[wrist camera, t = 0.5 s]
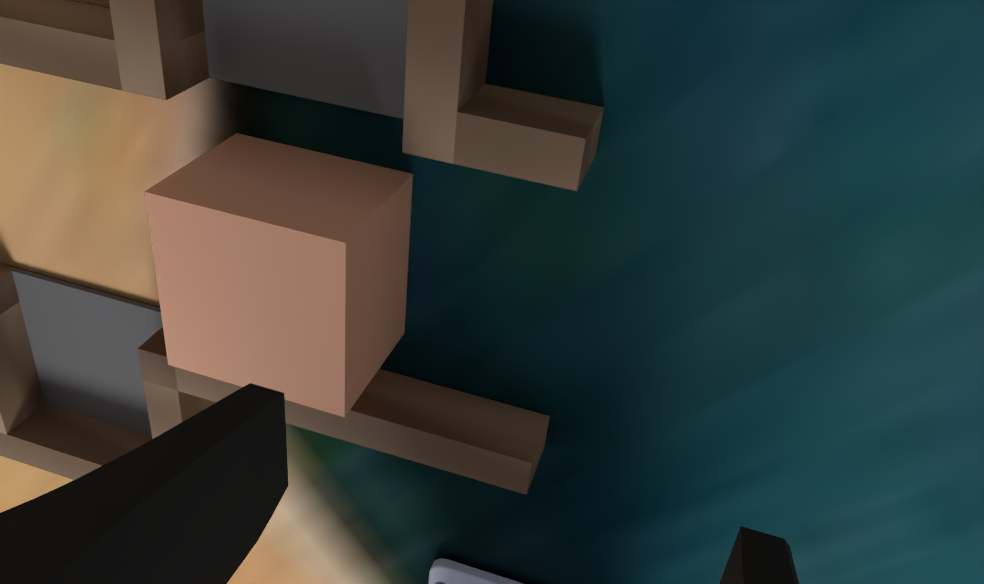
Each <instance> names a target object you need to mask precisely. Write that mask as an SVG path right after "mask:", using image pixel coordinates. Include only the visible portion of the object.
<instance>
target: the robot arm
mask: <svg viewBox="0 0 984 584" xmlns="http://www.w3.org/2000/svg"><path fill="white" fill-rule="evenodd" d="M287 487H288V470H287V446H286V422H285V398H284V393H283V392H279V391H276V390H272V389H269V388H265V387H262V386H259V385H255V384H252V383H249V384H248V385H246V386H244V387H242V388H240V389H239V390H237V391H235V392H233V393H232V394H230V395H228V396H226V397H225V398H223V399H221V400H219V401H218V402H216V403H214V404H213V405H211V406H209V407H207V408H206V409H204V410H202V411H201V412H199V413H197V414H195V415H194V416H192V417H190V418H189V419H187V420H185V421H183V422H182V423H180V424H178V425H176V426H175V427H173V428H171V429H170V430H168V431H166V432H164V433H162V434H161V435H159V436H157V437H155V438H153V439H152V440H150V441H148V442H146V443H145V444H143V445H141V446H139V447H137V448H136V449H134V450H132V451H130V452H128V453H126V454H124V455H123V456H121V457H119V458H117V459H115V460H113V461H111V462H109V463H107V464H105V465H103V466H101V467H99V468H97V469H95V470H93V471H91V472H89V473H87V474H85V475H83V476H81V477H79V478H77V479H75V480H73V481H72V482H70V483H68V484H65V485H63V486H61V487H59V488H57V489H55V490H53V491H50V492H48V493H46V494H44V495H42V496H39V497H37V498H35V499H33V500H30V501H28V502H26V503H23V504H21V505H18V506H16V507H14V508H11V509H9V510H6V511H4V512H2V513H0V584H227V582H228V581H229V580H230V578H231V577H232V575H233V574H234V573H235V571H236V570H237V569H238V567H239V566H240V564H241V563H242V562H243V560H244V559H245V558H246V556H247V555H248V553H249V552H250V551H251V549H252V548H253V546H254V545H255V544H256V542H257V541H258V539H259V537H260V536H261V534H262V532H263V530H264V529H265V527H266V525H267V523H268V522H269V520H270V518H271V516H272V515H273V513H274V511H275V509H276V507H277V505H278V503H279V502H280V500H281V498H282V496H283V494H284V492H285V490H286V489H287ZM428 584H523V583H520V582H517V581H514V580H511V579H508V578H505V577H501V576H498V575H495V574H492V573H489V572H486V571H483V570H480V569H476V568H473V567H470V566H467V565H464V564H461V563H458V562H455V561H452V560H448V559H437V560H435V561H434V563H433V565H432V567H431V569H430V572H429V583H428ZM720 584H799V581H798V578H797V574H796V570H795V566H794V562H793V558H792V554H791V550H790V546H789V545H788V543H787V542H786V540H785V539H783V538H779V537H776V536H773V535H769V534H766V533H762V532H759V531H755V530H752V529H749V528H745V527H742V526H741V527H740V530H739V533H738V535H737V538H736V541H735V543H734V546H733V549H732V551H731V554H730V557H729V559H728V562H727V565H726V568H725V570H724V573H723V576H722V578H721V581H720Z"/></svg>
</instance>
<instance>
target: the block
mask: <svg viewBox="0 0 984 584" xmlns="http://www.w3.org/2000/svg"><path fill="white" fill-rule="evenodd" d="M412 182H413V174H411V173H407V172H403V171H398V170H394V169H390V168H385V167H381V166H377V165H372V164H368V163H364V162H359V161H355V160H351V159H346V158H342V157H338V156H333V155H329V154H325V153H320V152H316V151H312V150H307V149H303V148H299V147H294V146H290V145H286V144H281V143H277V142H273V141H268V140H264V139H260V138H255V137H251V136H247V135H242V134H238V133H236V134H234V135H233V136H231V137H230V138H228V139H226V140H225V141H223V142H222V143H220V144H219V145H217V146H216V147H214V148H212V149H211V150H209V151H208V152H206V153H205V154H203V155H201V156H200V157H198V158H197V159H195V160H194V161H192V162H190V163H189V164H187V165H186V166H184V167H183V168H181V169H179V170H178V171H176V172H175V173H173V174H172V175H170V176H168V177H167V178H165V179H164V180H162V181H161V182H159V183H158V184H156V185H154V186H153V187H151V188H150V189H148V190H147V191H145V192H144V193H145V200H146V207H147V215H148V222H149V229H150V236H151V244H152V251H153V258H154V266H155V273H156V280H157V287H158V295H159V302H160V309H161V317H162V324H163V331H164V338H165V346H166V353H167V360H168V365H171V366H174V367H177V368H181V369H184V370H187V371H191V372H194V373H197V374H201V375H204V376H208V377H211V378H214V379H218V380H221V381H224V382H228V383H231V384H234V385H238V386H241V387H244V386H246V385H248V384H249V383H252V384H255V385H259V386H262V387H265V388H269V389H272V390H276V391H279V392H283V393H284V398H285V400H288V401H291V402H295V403H298V404H301V405H305V406H308V407H311V408H315V409H318V410H321V411H325V412H328V413H331V414H335V415H338V416H341V417H345V416H346V415H347V413H348V412H349V410H350V409H351V408H352V406H353V405H354V403H355V402H356V401H357V399H358V398H359V396H360V395H361V394H362V392H363V391H364V389H365V388H366V387H367V385H368V384H369V382H370V381H371V380H372V378H373V377H374V375H375V374H376V372H377V371H378V370H379V368H380V367H381V365H382V364H383V363H384V361H385V360H386V358H387V357H388V356H389V354H390V353H391V351H392V350H393V349H394V347H395V346H396V344H397V343H398V342H399V340H400V339H401V337H402V336H403V335H404V332H405V313H406V294H407V276H408V257H409V238H410V219H411V201H412Z"/></svg>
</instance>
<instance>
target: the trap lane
mask: <svg viewBox="0 0 984 584" xmlns="http://www.w3.org/2000/svg"><path fill="white" fill-rule="evenodd" d="M109 5H110V8H106V7H101V6H96V5H91V4H86V3H81V2H76V1H71V0H0V63H1V64H5V65H10V66H14V67H19V68H23V69H28V70H32V71H37V72H41V73H46V74H50V75H55V76H59V77H64V78H68V79H73V80H77V81H82V82H86V83H91V84H95V85H100V86H104V87H109V88H113V89H118V90H123V91H127V92H132V93H136V94H141V95H145V96H150V97H154V98H159V99H163V100H167V99H169V98H171V97H173V96H175V95H177V94H179V93H181V92H183V91H185V90H186V89H188V88H190V87H192V86H194V85H196V84H198V83H200V82H202V81H204V80H206V79H208V78H213V79H218V80H223V81H227V82H232V83H237V84H241V85H246V86H251V87H255V88H260V89H265V90H270V91H274V92H279V93H284V94H288V95H293V96H298V97H302V98H307V99H312V100H316V101H321V102H326V103H330V104H335V105H340V106H345V107H349V108H354V109H359V110H363V111H368V112H373V113H377V114H382V115H387V116H391V117H396V118H401V119H404V121H403V146H402V153H407V154H411V155H416V156H420V157H425V158H429V159H434V160H438V161H443V162H447V163H452V164H456V165H461V166H465V167H470V168H474V169H479V170H483V171H488V172H492V173H497V174H501V175H506V176H510V177H515V178H519V179H524V180H528V181H533V182H537V183H542V184H546V185H551V186H555V187H560V188H564V189H569V190H573V191H577V190H578V188H579V186H580V185H581V183H582V181H583V179H584V177H585V175H586V173H587V171H588V170H589V168H590V166H591V164H592V162H593V160H594V158H595V156H596V151H597V145H598V139H599V133H600V128H601V122H602V116H603V111H604V107H600V106H595V105H590V104H585V103H580V102H575V101H570V100H565V99H560V98H555V97H550V96H545V95H540V94H535V93H530V92H525V91H520V90H515V89H510V88H506V87H501V86H496V85H491V84H486V74H487V63H488V52H489V42H490V31H491V20H492V10H493V0H109ZM240 388H242V387H241V386H238V385H234V384H231V383H228V382H224V381H221V380H218V379H214V378H211V377H208V376H204V375H201V374H197V373H194V372H191V371H187V370H184V369H181V368H177V367H174V366H171V365H168V360H167V353H166V346H165V338H164V331H163V324H162V317H161V309H160V308H159V307H155V306H152V305H148V304H144V303H141V302H137V301H134V300H130V299H126V298H123V297H119V296H116V295H112V294H108V293H105V292H101V291H98V290H94V289H90V288H87V287H83V286H80V285H76V284H72V283H69V282H65V281H62V280H58V279H54V278H51V277H47V276H44V275H40V274H36V273H33V272H29V271H26V270H22V269H18V268H15V267H11V266H8V265H4V264H0V455H1V456H4V457H7V458H10V459H13V460H16V461H19V462H22V463H25V464H28V465H31V466H34V467H37V468H40V469H43V470H46V471H49V472H52V473H55V474H58V475H61V476H64V477H67V478H70V479H73V480H75V479H77V478H79V477H81V476H83V475H85V474H87V473H89V472H91V471H93V470H95V469H97V468H99V467H101V466H103V465H105V464H107V463H109V462H111V461H113V460H115V459H117V458H119V457H121V456H123V455H124V454H126V453H128V452H130V451H132V450H134V449H136V448H137V447H139V446H141V445H143V444H145V443H146V442H148V441H150V440H152V439H153V438H155V437H157V436H159V435H161V434H162V433H164V432H166V431H168V430H170V429H171V428H173V427H175V426H176V425H178V424H180V423H182V422H183V421H185V420H187V419H189V418H190V417H192V416H194V415H195V414H197V413H199V412H201V411H202V410H204V409H206V408H207V407H209V406H211V405H213V404H214V403H216V402H218V401H219V400H221V399H223V398H225V397H226V396H228V395H230V394H232V393H233V392H235V391H237V390H239V389H240ZM549 419H550V416H548V415H544V414H541V413H537V412H533V411H530V410H526V409H523V408H519V407H515V406H512V405H508V404H505V403H501V402H497V401H494V400H490V399H487V398H483V397H479V396H476V395H472V394H469V393H465V392H461V391H458V390H454V389H451V388H447V387H443V386H440V385H436V384H433V383H429V382H425V381H422V380H418V379H415V378H411V377H407V376H404V375H400V374H397V373H393V372H389V371H386V370H382V369H379V370H378V371H377V372H376V374H375V375H374V377H373V378H372V380H371V381H370V382H369V384H368V385H367V387H366V388H365V389H364V391H363V392H362V394H361V395H360V396H359V398H358V399H357V401H356V402H355V403H354V405H353V406H352V408H351V409H350V410H349V412H348V413H347V415H346V416H345V417H341V416H338V415H335V414H331V413H328V412H325V411H321V410H318V409H315V408H311V407H308V406H305V405H301V404H298V403H295V402H291V401H288V400H285V422H286V423H287V424H291V425H294V426H297V427H301V428H304V429H307V430H311V431H314V432H317V433H321V434H324V435H327V436H331V437H334V438H338V439H341V440H344V441H348V442H351V443H354V444H358V445H361V446H364V447H368V448H371V449H374V450H378V451H381V452H384V453H388V454H391V455H394V456H398V457H401V458H405V459H408V460H411V461H415V462H418V463H421V464H425V465H428V466H431V467H435V468H438V469H441V470H445V471H448V472H451V473H455V474H458V475H462V476H465V477H468V478H472V479H475V480H478V481H482V482H485V483H488V484H492V485H495V486H498V487H502V488H505V489H508V490H512V491H515V492H518V493H522V494H525V495H527V492H528V489H529V487H530V484H531V481H532V479H533V476H534V474H535V471H536V468H537V466H538V463H539V460H540V458H541V455H542V452H543V450H544V447H545V441H546V436H547V430H548V424H549Z"/></svg>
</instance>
